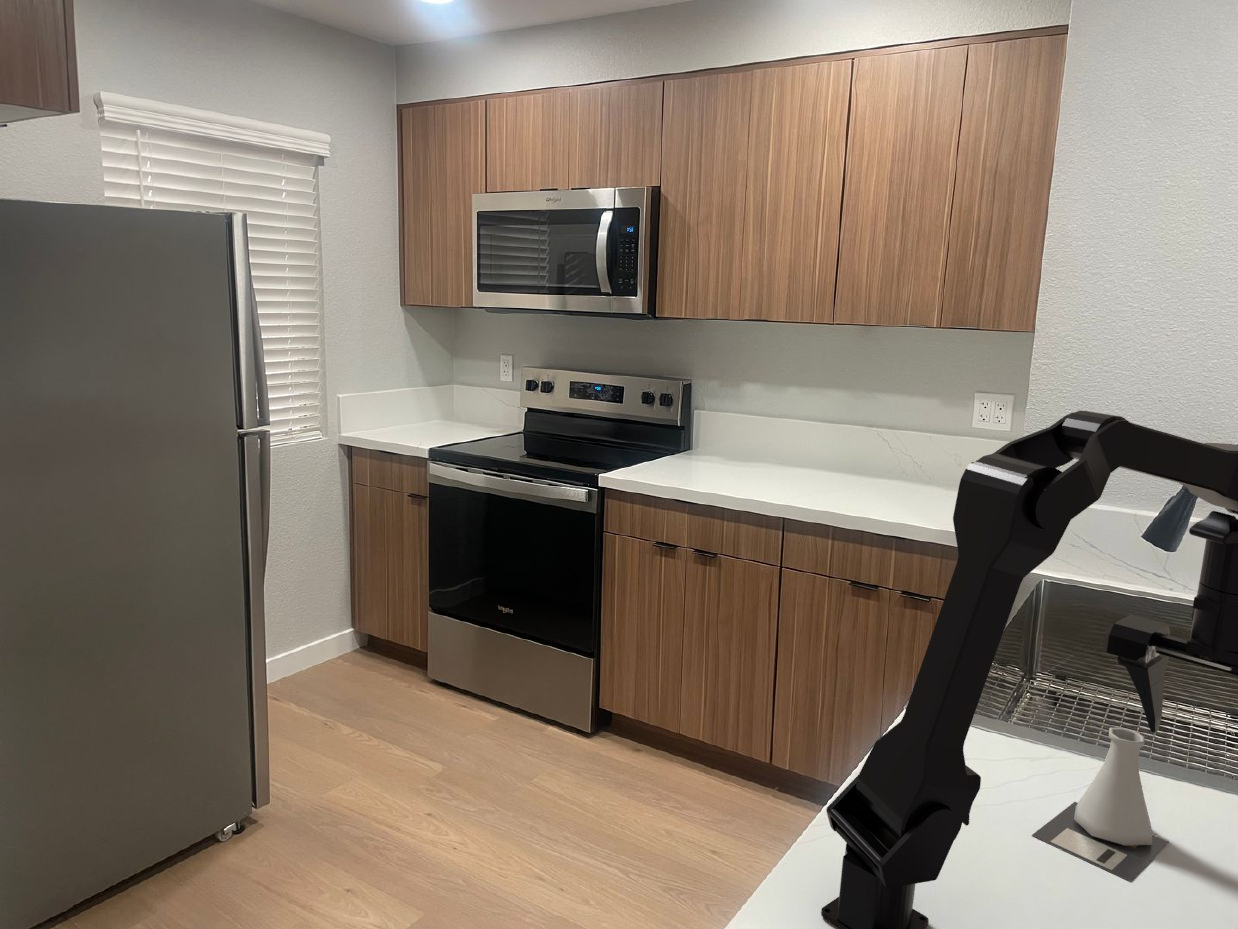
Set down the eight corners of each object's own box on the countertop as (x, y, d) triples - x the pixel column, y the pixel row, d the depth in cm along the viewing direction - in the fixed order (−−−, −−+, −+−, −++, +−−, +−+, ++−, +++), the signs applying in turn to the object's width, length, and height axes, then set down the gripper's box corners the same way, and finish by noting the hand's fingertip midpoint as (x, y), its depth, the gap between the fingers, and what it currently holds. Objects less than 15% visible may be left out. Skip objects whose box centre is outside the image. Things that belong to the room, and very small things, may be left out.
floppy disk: (1130, 881, 82) (1130, 879, 82) (1031, 835, 89) (1032, 834, 89) (1169, 842, 89) (1169, 840, 89) (1074, 802, 95) (1074, 800, 95)
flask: (1165, 854, 87) (1182, 757, 85) (1084, 842, 88) (1098, 746, 86) (1138, 813, 94) (1153, 723, 92) (1063, 803, 95) (1076, 713, 93)
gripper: (1388, 598, 79) (1354, 763, 82) (1154, 549, 93) (1132, 692, 96) (1362, 625, 72) (1326, 805, 75) (1112, 567, 85) (1090, 722, 88)
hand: (1209, 750), depth 84 cm, fingers open, 9 cm apart
